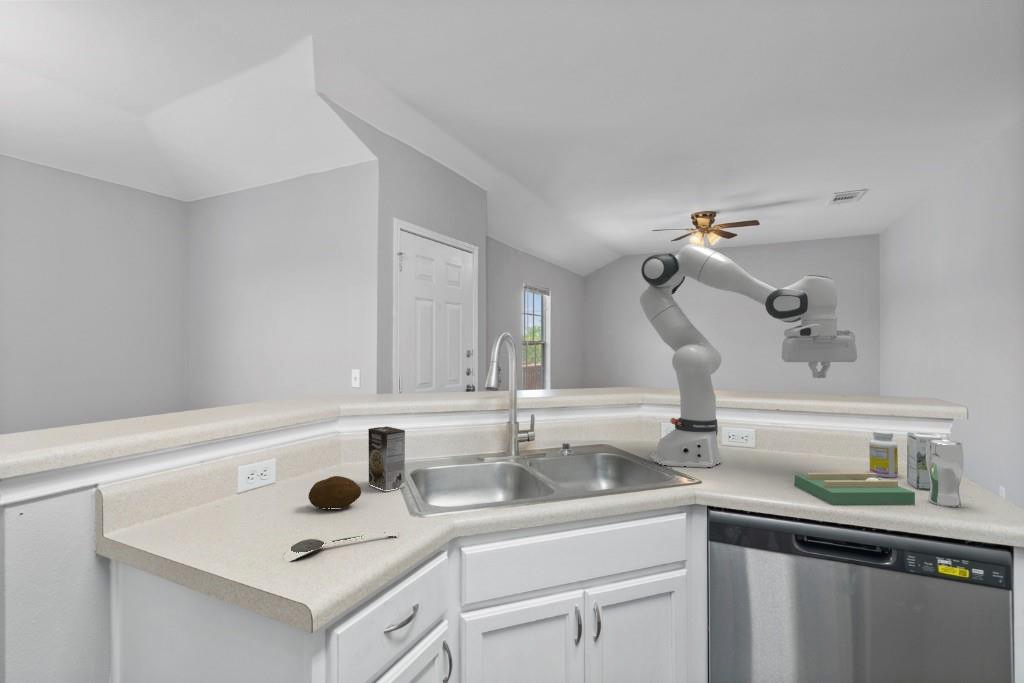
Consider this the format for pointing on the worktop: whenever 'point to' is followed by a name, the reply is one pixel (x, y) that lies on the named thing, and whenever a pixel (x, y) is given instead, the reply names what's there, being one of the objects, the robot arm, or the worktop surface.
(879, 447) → the supplement bottle
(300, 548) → the soupspoon
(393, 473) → the coffee box
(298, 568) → the worktop surface
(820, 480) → the putting mat
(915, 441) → the syrup box
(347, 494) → the potato
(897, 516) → the worktop surface
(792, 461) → the worktop surface
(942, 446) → the beer glass
